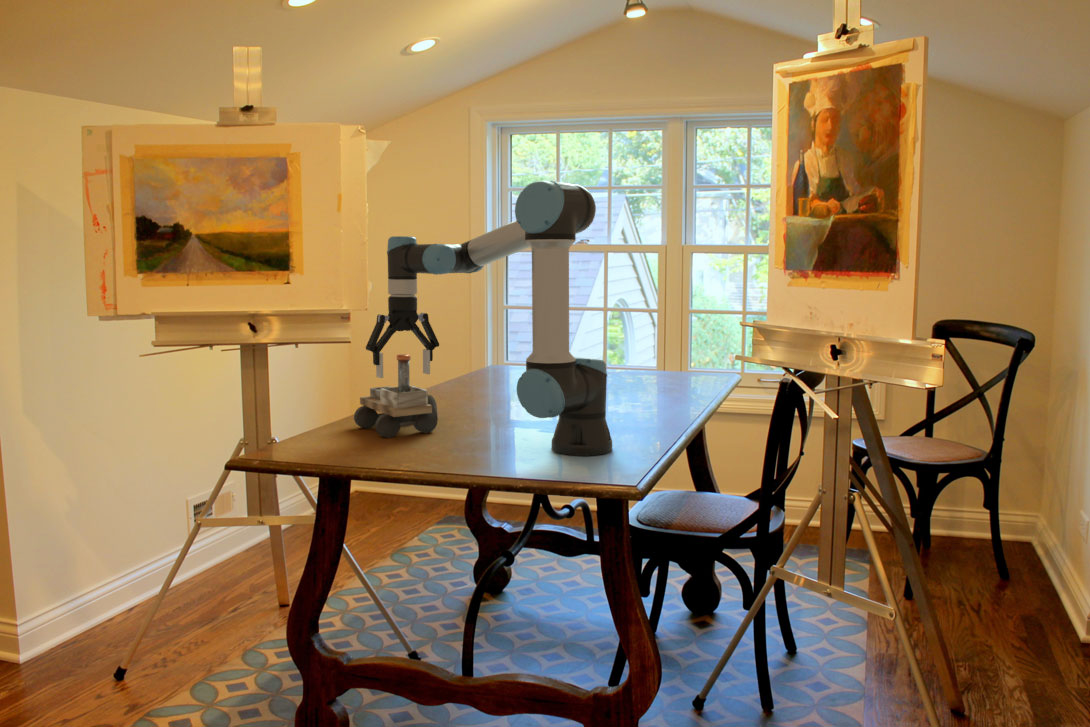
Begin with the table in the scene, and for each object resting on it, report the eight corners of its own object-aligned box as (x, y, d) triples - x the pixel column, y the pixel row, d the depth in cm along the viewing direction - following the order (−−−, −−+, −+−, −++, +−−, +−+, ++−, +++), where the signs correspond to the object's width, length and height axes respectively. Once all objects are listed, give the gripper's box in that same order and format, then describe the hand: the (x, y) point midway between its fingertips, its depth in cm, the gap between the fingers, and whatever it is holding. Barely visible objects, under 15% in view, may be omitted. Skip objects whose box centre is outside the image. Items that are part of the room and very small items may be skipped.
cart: (442, 433, 235) (441, 389, 234) (383, 441, 226) (382, 395, 224) (405, 420, 253) (405, 379, 252) (350, 426, 244) (349, 383, 242)
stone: (419, 436, 249) (445, 412, 249) (399, 415, 249) (424, 390, 249) (424, 434, 259) (448, 411, 259) (404, 413, 259) (428, 390, 259)
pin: (413, 404, 234) (412, 355, 232) (400, 405, 231) (400, 356, 230) (407, 402, 236) (406, 354, 235) (394, 403, 234) (394, 354, 233)
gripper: (438, 293, 240) (438, 370, 243) (352, 295, 226) (353, 377, 229) (451, 295, 234) (451, 373, 237) (363, 297, 220) (365, 380, 223)
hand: (403, 375), depth 233 cm, fingers open, 13 cm apart
